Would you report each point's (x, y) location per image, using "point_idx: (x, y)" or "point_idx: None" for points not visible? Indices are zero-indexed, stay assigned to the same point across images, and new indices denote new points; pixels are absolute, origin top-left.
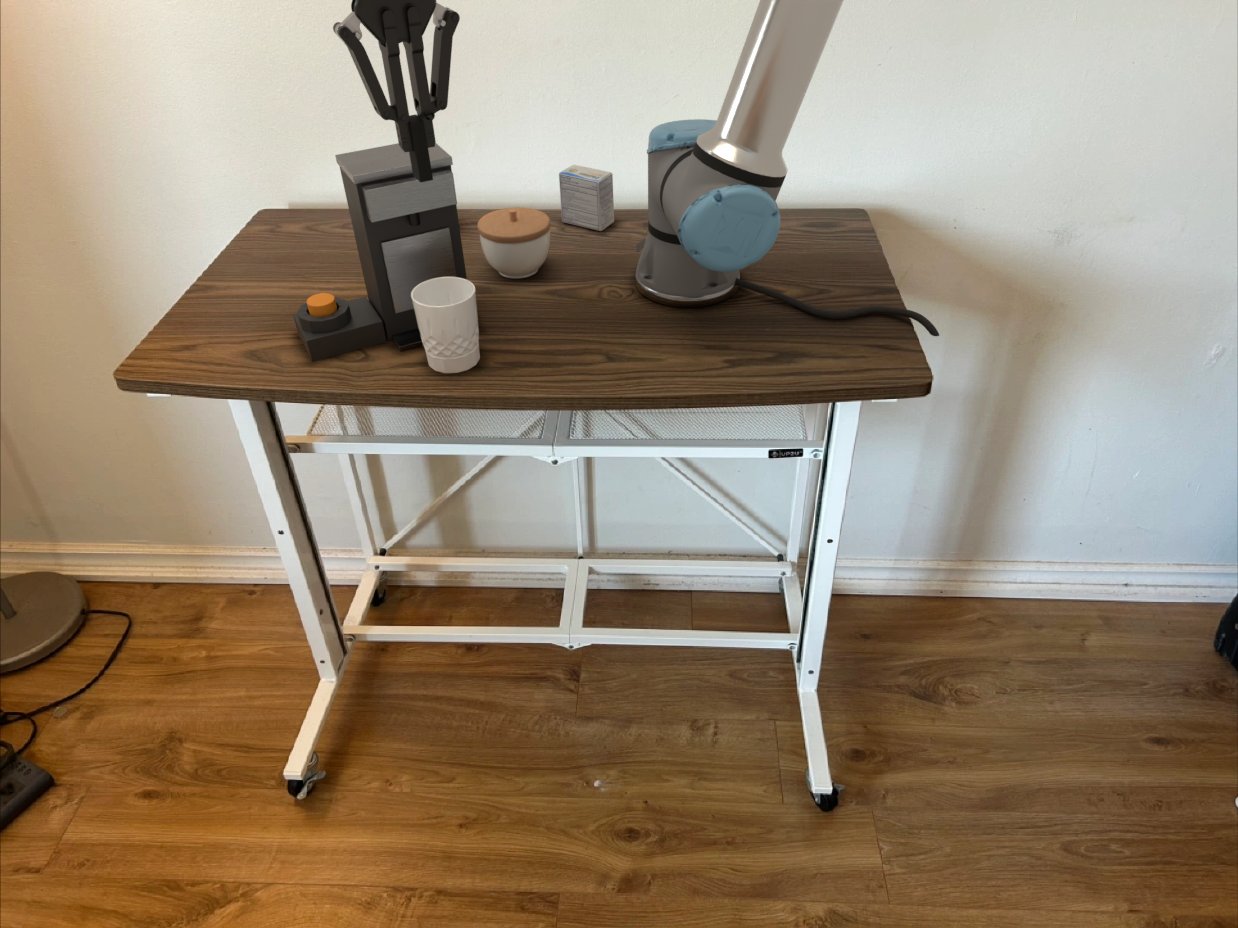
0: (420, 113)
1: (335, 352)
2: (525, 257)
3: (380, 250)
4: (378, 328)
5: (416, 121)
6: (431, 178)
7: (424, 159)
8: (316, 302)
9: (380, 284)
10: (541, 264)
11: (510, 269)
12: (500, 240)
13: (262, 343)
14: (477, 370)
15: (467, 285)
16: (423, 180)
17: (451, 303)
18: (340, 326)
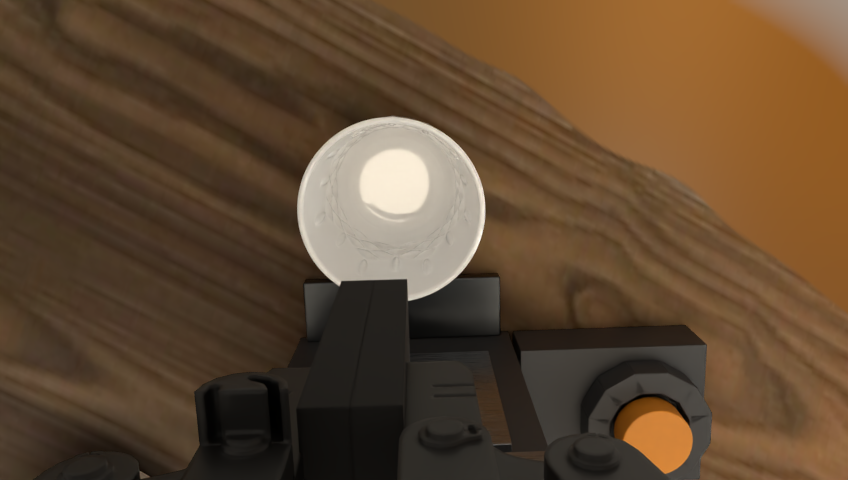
0: (295, 476)
1: (634, 328)
2: None
3: (514, 438)
4: (531, 344)
5: (349, 427)
6: (347, 282)
7: (360, 315)
8: (671, 432)
9: (519, 392)
10: None
11: (144, 475)
12: None
13: (758, 452)
14: (362, 111)
15: (311, 236)
16: (390, 281)
17: (361, 262)
18: (620, 366)
